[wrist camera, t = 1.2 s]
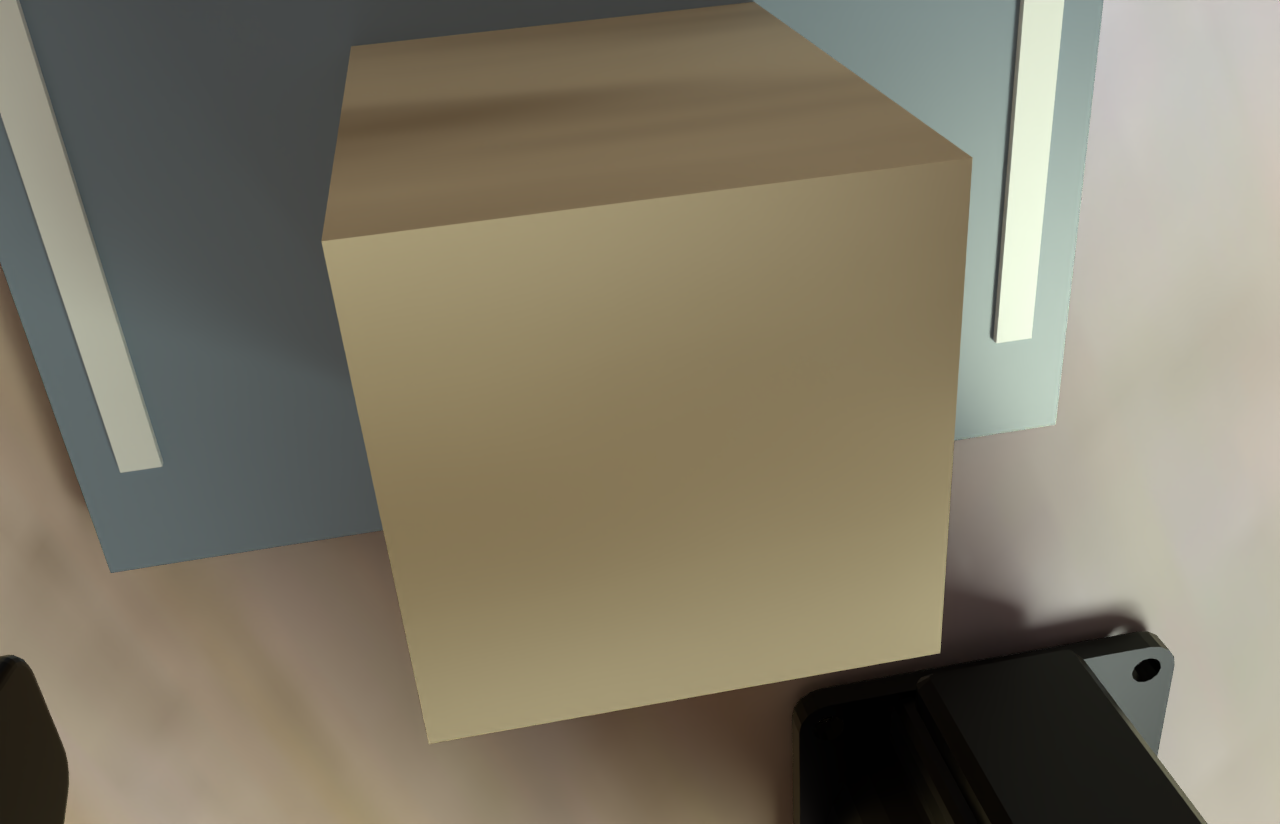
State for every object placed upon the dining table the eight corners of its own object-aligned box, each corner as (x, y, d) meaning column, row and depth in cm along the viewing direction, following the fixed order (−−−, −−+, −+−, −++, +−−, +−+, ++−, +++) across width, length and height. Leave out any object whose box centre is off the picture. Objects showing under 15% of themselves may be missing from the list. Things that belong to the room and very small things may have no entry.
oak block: (762, 357, 16) (940, 653, 11) (418, 407, 15) (429, 743, 10) (754, 1, 14) (972, 157, 8) (351, 46, 13) (319, 241, 8)
